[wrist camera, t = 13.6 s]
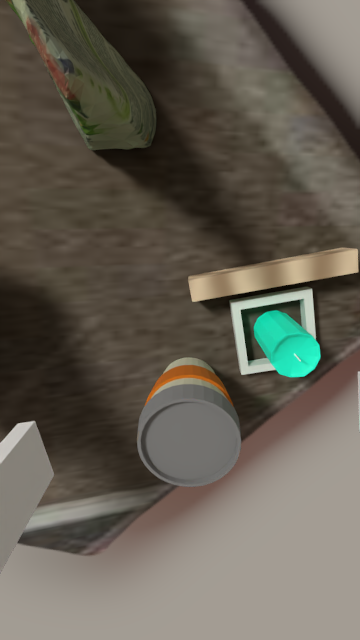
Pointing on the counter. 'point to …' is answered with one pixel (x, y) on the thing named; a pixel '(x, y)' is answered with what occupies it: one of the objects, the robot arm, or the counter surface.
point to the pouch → (89, 75)
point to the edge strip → (274, 273)
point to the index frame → (262, 300)
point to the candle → (286, 344)
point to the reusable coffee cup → (189, 426)
